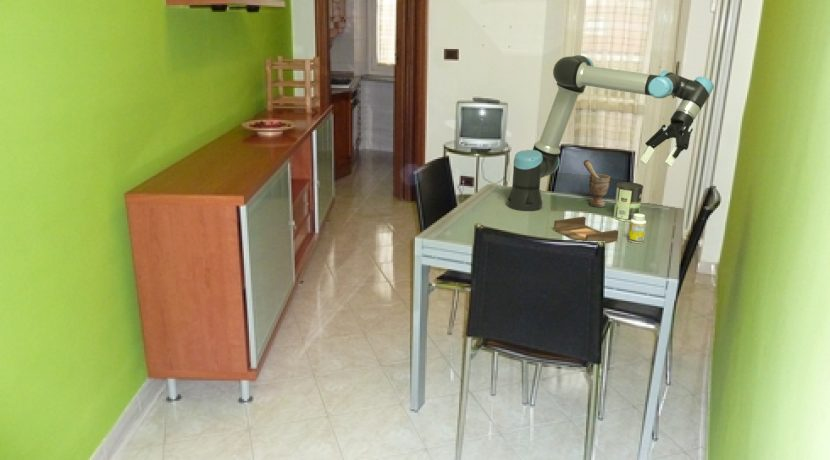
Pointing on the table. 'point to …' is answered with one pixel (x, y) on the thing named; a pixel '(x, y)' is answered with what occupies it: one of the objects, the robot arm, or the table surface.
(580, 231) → the wooden tray with rails
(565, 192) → the table surface
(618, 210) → the coffee can
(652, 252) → the table surface
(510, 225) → the table surface
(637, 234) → the supplement bottle
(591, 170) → the mortar and pestle
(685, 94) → the robot arm
